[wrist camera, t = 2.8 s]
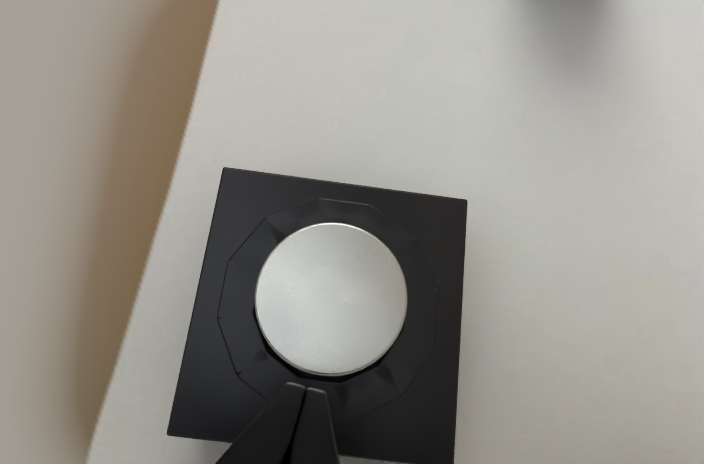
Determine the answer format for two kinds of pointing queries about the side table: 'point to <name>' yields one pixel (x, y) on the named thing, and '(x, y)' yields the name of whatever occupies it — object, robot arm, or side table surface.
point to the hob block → (343, 391)
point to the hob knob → (331, 299)
